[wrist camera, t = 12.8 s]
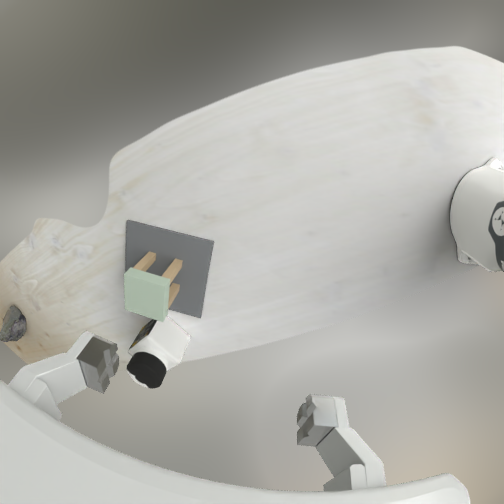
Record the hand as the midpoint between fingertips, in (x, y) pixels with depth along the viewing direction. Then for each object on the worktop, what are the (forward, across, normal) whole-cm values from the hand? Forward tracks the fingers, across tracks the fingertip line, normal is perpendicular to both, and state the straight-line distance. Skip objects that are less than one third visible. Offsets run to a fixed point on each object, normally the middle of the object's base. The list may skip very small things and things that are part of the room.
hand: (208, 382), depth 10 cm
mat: (+29, +12, +14) cm, 34 cm away
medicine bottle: (+29, +11, +27) cm, 41 cm away
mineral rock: (+30, +60, +46) cm, 81 cm away
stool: (+29, +12, +14) cm, 34 cm away
